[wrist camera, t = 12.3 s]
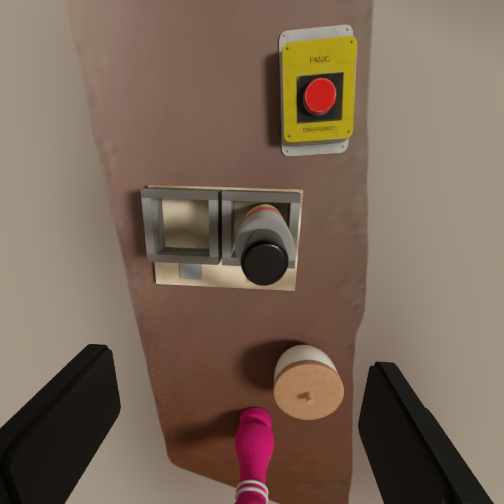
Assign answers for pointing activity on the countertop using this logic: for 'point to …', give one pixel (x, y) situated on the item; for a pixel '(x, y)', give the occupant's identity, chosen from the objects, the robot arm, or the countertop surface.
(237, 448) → the pepper mill
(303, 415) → the lidded jar
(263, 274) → the lotion bottle
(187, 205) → the socket board
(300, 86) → the emergency button
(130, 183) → the countertop surface
